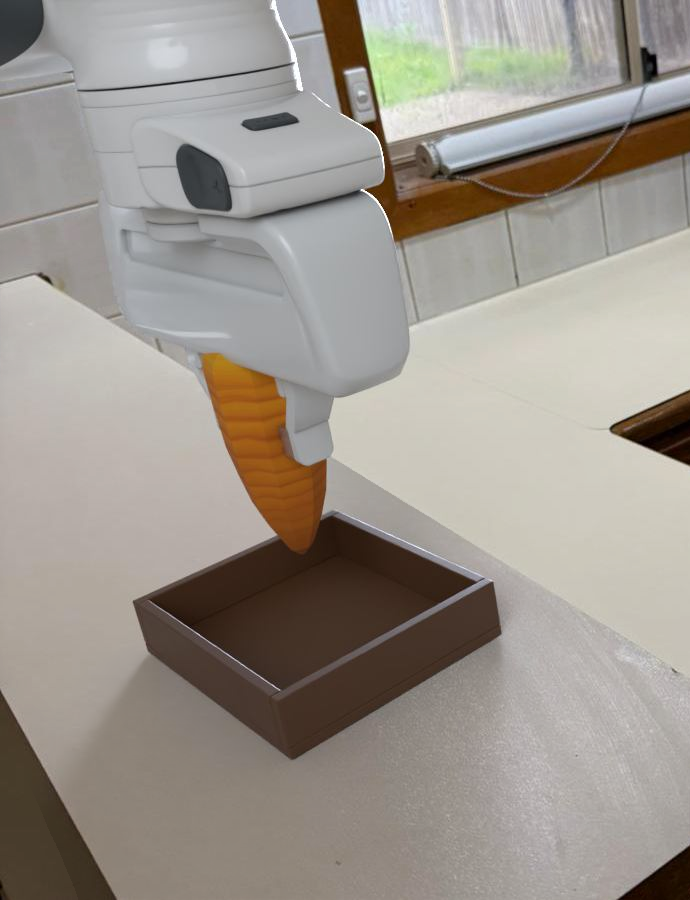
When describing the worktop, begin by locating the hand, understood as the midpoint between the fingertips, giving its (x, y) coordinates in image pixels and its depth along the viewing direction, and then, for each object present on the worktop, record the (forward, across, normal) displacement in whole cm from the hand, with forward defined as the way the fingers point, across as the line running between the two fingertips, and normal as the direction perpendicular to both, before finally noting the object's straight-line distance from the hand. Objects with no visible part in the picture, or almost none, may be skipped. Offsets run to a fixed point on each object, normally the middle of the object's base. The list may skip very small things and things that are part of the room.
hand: (276, 444), depth 54 cm
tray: (+11, 0, 0) cm, 11 cm away
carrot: (+6, 0, 0) cm, 6 cm away
